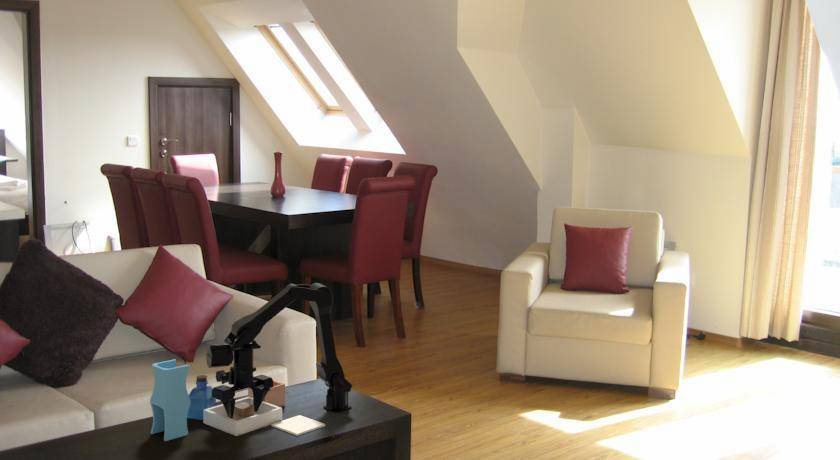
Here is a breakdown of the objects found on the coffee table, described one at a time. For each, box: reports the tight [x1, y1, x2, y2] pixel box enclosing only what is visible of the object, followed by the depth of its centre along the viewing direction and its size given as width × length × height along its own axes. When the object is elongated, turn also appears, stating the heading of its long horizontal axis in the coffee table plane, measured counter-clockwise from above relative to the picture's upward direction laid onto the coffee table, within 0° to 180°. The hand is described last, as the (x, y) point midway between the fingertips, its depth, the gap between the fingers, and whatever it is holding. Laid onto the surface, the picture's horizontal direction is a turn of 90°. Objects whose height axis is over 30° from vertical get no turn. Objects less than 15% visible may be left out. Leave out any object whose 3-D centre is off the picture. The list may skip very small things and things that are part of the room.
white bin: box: [202, 396, 283, 437], centre depth 256 cm, size 17×15×4 cm
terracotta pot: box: [247, 379, 286, 408], centre depth 270 cm, size 8×8×7 cm
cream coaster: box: [270, 414, 326, 437], centre depth 254 cm, size 11×11×1 cm
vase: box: [149, 358, 191, 442], centre depth 244 cm, size 8×8×20 cm
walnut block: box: [232, 402, 254, 421], centre depth 255 cm, size 4×4×4 cm
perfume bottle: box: [187, 374, 217, 420], centre depth 259 cm, size 6×6×12 cm
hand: (243, 415), depth 256 cm, fingers open, 9 cm apart
